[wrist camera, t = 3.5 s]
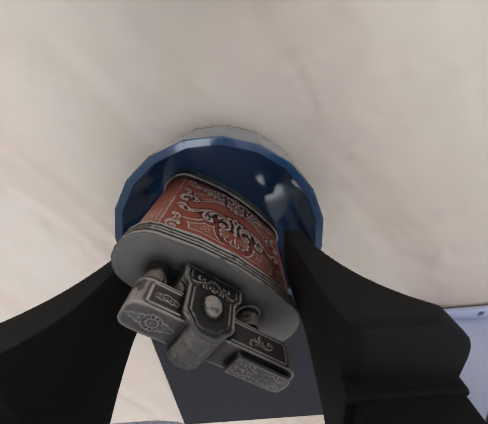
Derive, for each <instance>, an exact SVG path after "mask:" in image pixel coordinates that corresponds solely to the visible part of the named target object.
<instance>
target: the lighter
mask: <svg viewBox="0 0 488 424" xmlns="http://www.w3.org/2000/svg"><path fill="white" fill-rule="evenodd" d="M277 240H278V236H277V230H276V227H275V225H274V223H273V222H272V221H271V220H270V219H269V218H268V217H267V216H266V215H265V214H264V213H263V212H262V211H261V210H260V209H259V208H258V207H256V206H255V205H254V204H252V203H251V202H250V201H249V200H247V199H246V198H245V197H243V196H242V195H241V194H239V193H238V192H236V191H234V190H233V189H231V188H229V187H227V186H225V185H224V184H222V183H220V182H218V181H217V180H214V179H212V178H210V177H207V176H205V175H203V174H200V173H198V172H196V171H193V170H188V169H186V170H180V171H178V172H176V173H175V174H174V175H173V176H172V177H171V178H170V179H169V180H168V182H167V183H166V185H165V187H164V192H163V193H162V194H161V196H160V197H159V198H158V199H157V201H156V202H155V203H154V204H153V206H152V207H151V208H150V210H149V211H148V212H147V213H146V215H145V216H144V217H143V219H142V220H141V221H140V222H139V223H138V224H136V225H134V226H132V227H130V228H129V229H128V231H127V232H126V233H125V234H124V235H123V236H122V237H121V239H120V240H119V241H118V242H117V244H116V245H115V246H114V248H113V251H112V254H111V263H112V267H113V269H114V271H115V273H116V275H117V276H118V277H119V278H120V279H121V280H122V281H123V282H125V283H126V284H128V285H129V286H131V287H132V289H131V291H130V293H129V295H128V296H127V298H126V300H125V302H124V304H123V305H122V307H121V309H120V311H119V313H118V315H117V319H118V321H119V323H120V324H121V325H123V326H125V327H127V328H128V329H131V330H133V331H136V332H138V333H140V334H143V335H145V336H147V337H150V338H152V339H155V340H157V341H159V342H161V344H162V345H163V347H164V348H165V354H166V357H167V359H168V360H169V361H170V363H171V364H172V365H173V366H175V367H178V368H180V369H183V370H185V371H190V370H194V369H195V368H197V367H198V366H199V365H200V364H201V363H202V362H204V361H207V362H209V363H212V364H214V365H217V366H219V367H221V368H224V372H225V373H228V374H230V375H232V376H235V377H237V378H240V379H242V380H244V381H247V382H249V383H252V384H254V385H256V386H259V387H261V388H264V389H266V390H268V391H271V392H279V391H281V390H283V389H284V388H285V387H287V386H288V385H289V381H290V380H291V379H292V378H293V376H294V373H293V368H292V363H291V357H290V352H289V347H288V346H287V345H286V344H285V343H283V341H285V340H286V339H288V338H289V337H291V336H292V335H293V334H294V332H295V331H296V330H297V328H298V325H299V323H300V321H299V314H298V310H297V306H296V303H295V301H294V299H293V298H292V296H291V295H290V294H289V292H288V288H287V284H286V280H285V276H284V272H283V268H282V263H281V259H280V255H279V251H278V247H277Z"/></svg>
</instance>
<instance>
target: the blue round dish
mask: <svg viewBox="0 0 488 424" xmlns="http://www.w3.org/2000/svg"><path fill="white" fill-rule="evenodd" d="M186 169H188V170H193V171H196V172H198V173H200V174H203V175H205V176H207V177H210V178H212V179H214V180H217V181H218V182H220V183H222V184H224V185H225V186H227V187H229V188H231V189H233V190H234V191H236V192H238V193H239V194H241V195H242V196H243V197H245V198H246V199H247V200H249V201H250V202H251V203H252V204H254V205H255V206H256V207H258V208H259V209H260V210H261V211H262V212H263V213H264V214H265V215H266V216H267V217H268V218H269V219H270V220H271V221H272V222H273V223H274V225H275V227H276V230H277V236H278V240H277V247H278V251H279V255H280V259H281V263H282V268H283V272H284V276H285V280H286V284H287V288H288V292H289V294H290V293H292V291H291V288H290V285H289V281H288V277H287V272H286V267H285V248H284V231H286V230H296V229H297V230H298V231H299V232H300V233H301V234H302V235H303V236H305V237H306V238H307V239H308V240H309V241H310V242H311V243H312V244H314V245H315V246H316V247H317V248H318V249H320V250H321V247H322V233H323V216H322V213H321V210H320V207H319V204H318V201H317V198H316V195H315V192H314V190H313V188H312V187H311V186H310V184H309V183H308V182H307V180H306V179H305V178H304V176H303V175H302V174H301V173H300V171H299V170H298V169H297V167H296V166H295V165H294V164H293V163H292V161H291V160H290V159H289V158H288V156H287V155H286V154H285V153H284V151H283V150H282V149H281V148H280V147H279V146H277V145H275V144H274V143H272V142H271V141H270V140H268V139H266V138H264V137H262V136H261V135H259V134H257V133H255V132H252V131H249V130H245V129H240V128H236V127H229V126H218V127H208V128H201V129H195V130H193V131H191V132H189V133H187V134H185V135H183V136H181V137H179V138H177V139H174V140H172V141H171V142H169V143H168V144H166V145H165V146H163V147H162V148H160V149H159V150H158V151H156V152H155V153H153V154H152V155H150V156H149V157H148V158H147V159H146V160H145V161H144V162H143V163H142V164H141V165H140V166H139V168H138V169H137V170H136V171H135V172H134V173H133V174H132V175H131V176H130V177H129V178H128V179H127V181H126V182H125V185H124V187H123V190H122V192H121V195H120V197H119V200H118V203H117V205H116V208H115V238H116V242H118V241H119V240H120V239H121V237H122V236H123V235H124V234H125V233H126V232H127V231H128V229H129V228H130V227H132V226H134V225H136V224H138V223H139V222H140V221H141V220H142V219H143V217H144V216H145V215H146V213H147V212H148V211H149V210H150V208H151V207H152V206H153V204H154V203H155V202H156V201H157V199H158V198H159V197H160V196H161V194H162V193H163V192H164V187H165V185H166V183H167V182H168V180H169V179H170V178H171V177H172V176H173V175H174V174H175V173H176V172H178V171H180V170H186Z"/></svg>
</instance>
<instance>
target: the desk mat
mask: <svg viewBox="0 0 488 424" xmlns="http://www.w3.org/2000/svg"><path fill="white" fill-rule="evenodd" d="M290 295H291V296H292V298H293V299H294V297H293V294H292V293H290ZM294 301H295V300H294ZM297 310H298V309H297ZM298 314H299V312H298ZM299 321H300V323H299V325H298V328H297V330H296V331H295V332H294V334H293V335H292V336H291V337H289V338H288V339H286V340H285V341H283V343H285V344H286V345H287V346H288V347H289V352H290V357H291V363H292V368H293V373H294V376H293V378H292V379H291V380H290V381H289V385H288V386H287V387H285V388H284V389H283V390H281V391H279V392H271V391H268V390H266V389H264V388H261V387H259V386H256V385H254V384H252V383H249V382H247V381H244V380H242V379H240V378H237V377H235V376H232V375H230V374H228V373H225V372H224V368H221V367H219V366H217V365H214V364H212V363H209V362H207V361H204V362H202V363H201V364H200V365H199V366H198V367H197V368H195V369H194V370H190V371H185V370H183V369H180V368H178V367H175V366H173V365H172V364H171V363H170V361H169V360H168V359H167V357H166V354H165V348H164V347H163V345H162V344H161V342H159V341H157V340H155V339H152V338H151V339H152V342H153V345H154V347H155V350H156V352H157V355H158V357H159V360H160V362H161V365H162V367H163V370H164V372H165V375H166V377H167V380H168V382H169V385H170V388H171V390H172V393H173V395H174V398H175V400H176V403H177V405H178V408H179V410H180V413H181V415H182V418H183V420H184V423H185V424H200V423H213V422H227V421H241V420H254V419H268V418H282V417H295V416H309V415H323V410H322V405H321V400H320V396H319V391H318V386H317V382H316V377H315V373H314V368H313V364H312V359H311V355H310V351H309V346H308V342H307V338H306V334H305V330H304V327H303V323H302V320H301V317H300V314H299Z"/></svg>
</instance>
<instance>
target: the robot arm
mask: <svg viewBox="0 0 488 424" xmlns="http://www.w3.org/2000/svg"><path fill="white" fill-rule="evenodd" d="M284 248H285V267H286V272H287V277H288V281H289V285H290V288H291V291H292V294H293V297H294V300H295V303H296V306H297V309H298V312H299V314H300V317H301V320H302V323H303V327H304V330H305V334H306V338H307V342H308V346H309V351H310V355H311V359H312V364H313V368H314V373H315V377H316V382H317V386H318V391H319V396H320V400H321V405H322V410H323V415H324V420H325V424H488V305H485V306H473V307H461V308H449V309H443V308H441V307H440V306H439V305H435V304H432V303H429V302H426V301H423V300H420V299H416V298H413V297H410V296H407V295H404V294H402V293H399V292H396V291H394V290H391V289H389V288H386V287H384V286H382V285H379V284H377V283H375V282H373V281H371V280H368V279H366V278H364V277H362V276H360V275H358V274H356V273H355V272H353V271H351V270H349V269H348V268H346V267H344V266H342V265H341V264H339V263H338V262H336V261H335V260H333V259H332V258H330V257H329V256H328V255H326V254H325V253H324V252H322V251H321V250H320V249H318V248H317V247H316V246H315V245H314V244H312V243H311V242H310V241H309V240H308V239H307V238H306V237H305V236H303V235H302V234H301V233H300V232H299V231H298V230H297V229H296V230H286V231H284ZM131 289H132V287H131V286H129V285H128V284H126V283H125V282H123V281H122V280H121V279H120V278H119V277H118V276H117V275H116V273H115V271H114V269H113V267H112V263H111V261H110V262H109V263H107V264H106V265H104V266H103V267H102V268H100V269H99V270H97V271H96V272H94V273H93V274H91V275H90V276H88V277H87V278H85V279H84V280H82V281H81V282H79V283H78V284H76V285H74V286H73V287H71V288H69V289H68V290H66V291H64V292H62V293H61V294H59V295H57V296H55V297H54V298H52V299H50V300H48V301H46V302H44V303H42V304H40V305H38V306H36V307H34V308H32V309H30V310H28V311H26V312H24V313H22V314H20V315H17V316H15V317H13V318H11V319H9V320H6V321H4V322H2V323H0V424H110V422H111V418H112V414H113V410H114V406H115V402H116V398H117V394H118V390H119V387H120V383H121V379H122V376H123V372H124V369H125V366H126V362H127V359H128V356H129V353H130V350H131V347H132V344H133V341H134V339H135V336H136V334H137V332H136V331H133V330H131V329H128V328H127V327H125V326H123V325H121V324H120V323H119V321H118V319H117V315H118V313H119V311H120V309H121V307H122V305H123V304H124V302H125V300H126V298H127V296H128V295H129V293H130V291H131ZM115 424H182V423H179V422H171V421H142V422H129V423H115Z"/></svg>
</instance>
